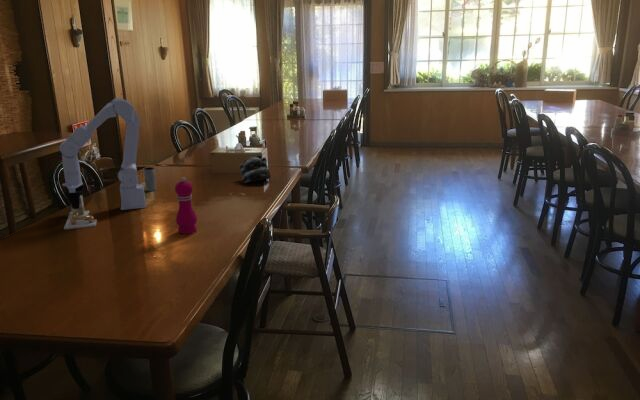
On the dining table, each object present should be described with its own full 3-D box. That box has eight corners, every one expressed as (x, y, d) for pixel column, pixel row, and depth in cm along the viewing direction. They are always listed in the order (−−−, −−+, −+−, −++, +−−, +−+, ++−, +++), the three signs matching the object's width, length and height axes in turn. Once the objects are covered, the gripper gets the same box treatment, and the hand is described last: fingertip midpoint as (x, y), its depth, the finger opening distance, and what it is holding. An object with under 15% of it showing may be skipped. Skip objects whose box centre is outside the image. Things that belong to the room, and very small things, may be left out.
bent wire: (96, 215, 197) (95, 209, 197) (93, 222, 190) (93, 216, 189) (74, 218, 195) (73, 211, 194) (71, 224, 188) (70, 218, 187)
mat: (89, 211, 205) (89, 210, 205) (87, 216, 199) (87, 215, 199) (70, 213, 203) (70, 212, 203) (67, 218, 197) (67, 217, 197)
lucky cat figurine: (238, 184, 242) (232, 157, 245) (247, 188, 254) (242, 161, 256) (267, 176, 239) (261, 148, 242) (275, 180, 251) (270, 154, 253)
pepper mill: (201, 229, 184) (197, 175, 178) (190, 236, 178) (185, 180, 172) (184, 227, 187) (179, 174, 181) (173, 233, 180) (167, 179, 174)
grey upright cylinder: (153, 191, 233) (151, 169, 230) (144, 191, 233) (141, 169, 230) (158, 189, 237) (156, 167, 234) (149, 188, 238) (147, 167, 235)
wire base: (98, 217, 198) (97, 215, 198) (95, 226, 188) (95, 224, 188) (68, 220, 195) (68, 218, 195) (64, 229, 185) (63, 227, 185)
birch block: (84, 211, 203) (82, 195, 201) (83, 214, 200) (81, 197, 198) (73, 213, 202) (71, 196, 200) (72, 216, 199) (69, 198, 197)
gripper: (63, 168, 201) (68, 201, 205) (57, 177, 188) (63, 212, 192) (83, 167, 204) (87, 199, 208) (78, 175, 190) (83, 210, 194)
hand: (77, 205), depth 200 cm, fingers open, 7 cm apart
